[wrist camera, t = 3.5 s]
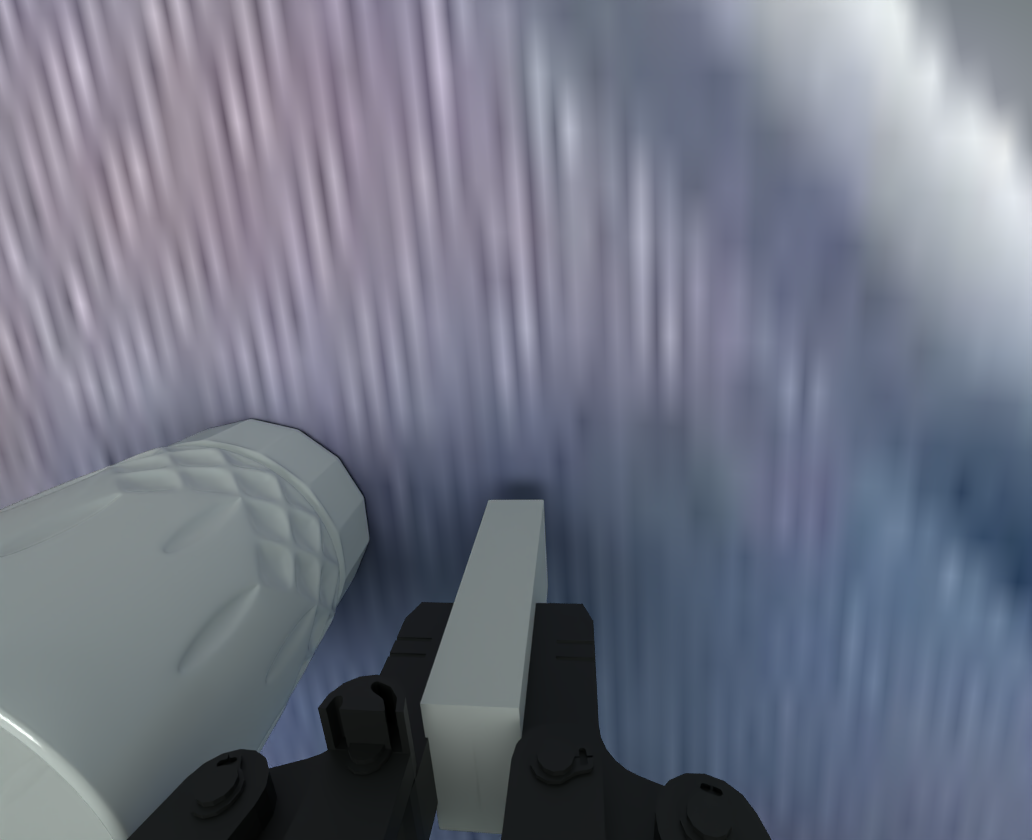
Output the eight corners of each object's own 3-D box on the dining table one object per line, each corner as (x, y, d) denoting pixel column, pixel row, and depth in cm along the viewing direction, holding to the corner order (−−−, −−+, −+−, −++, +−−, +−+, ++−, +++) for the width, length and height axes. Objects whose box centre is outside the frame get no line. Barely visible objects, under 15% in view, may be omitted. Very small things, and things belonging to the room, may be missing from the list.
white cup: (432, 566, 17) (254, 965, 8) (252, 638, 19) (-70, 1030, 9) (299, 357, 15) (-157, 538, 6) (114, 460, 17) (-462, 726, 8)
